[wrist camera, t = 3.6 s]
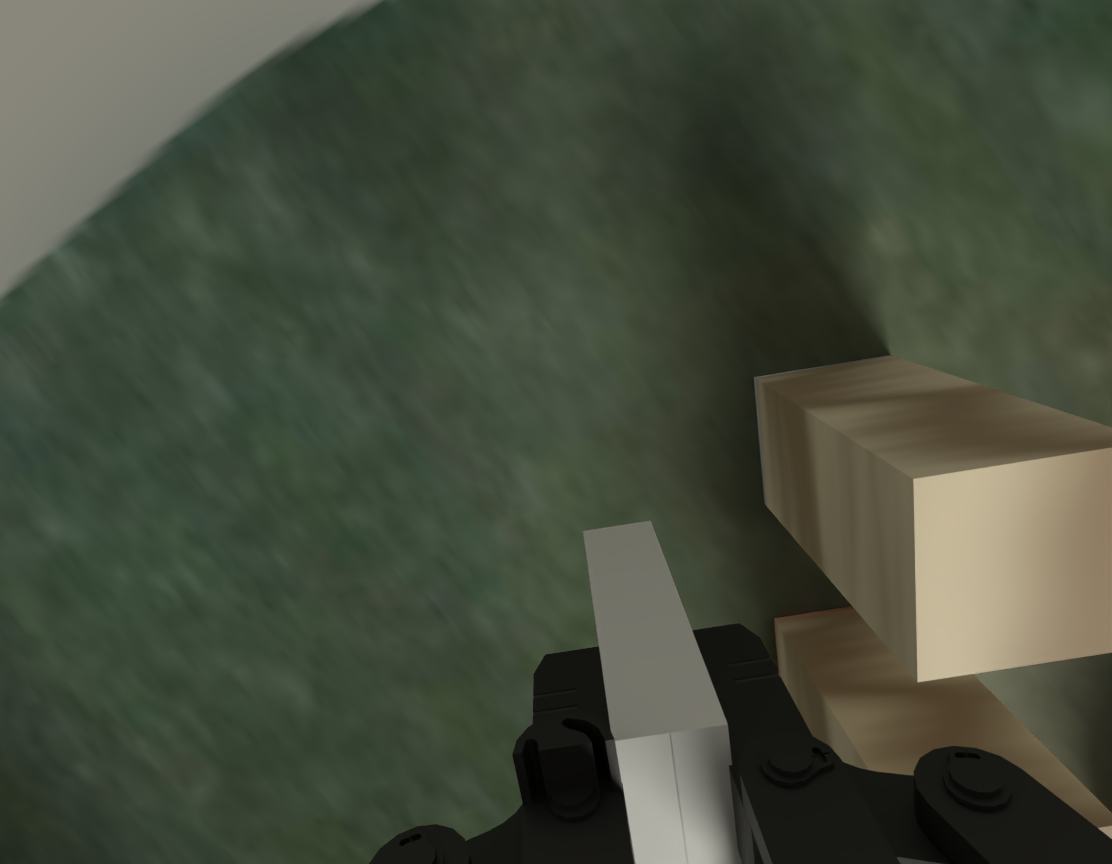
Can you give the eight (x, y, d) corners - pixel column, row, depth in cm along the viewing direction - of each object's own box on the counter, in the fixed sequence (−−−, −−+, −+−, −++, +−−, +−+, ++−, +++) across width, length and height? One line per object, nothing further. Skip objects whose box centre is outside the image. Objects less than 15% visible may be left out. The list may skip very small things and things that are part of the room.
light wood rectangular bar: (764, 503, 24) (917, 682, 14) (753, 377, 23) (913, 479, 13) (894, 483, 24) (1136, 648, 14) (890, 355, 23) (1152, 441, 13)
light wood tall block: (782, 721, 26) (924, 1000, 17) (773, 618, 25) (921, 854, 16) (900, 704, 26) (1111, 973, 17) (897, 598, 25) (1122, 824, 15)
